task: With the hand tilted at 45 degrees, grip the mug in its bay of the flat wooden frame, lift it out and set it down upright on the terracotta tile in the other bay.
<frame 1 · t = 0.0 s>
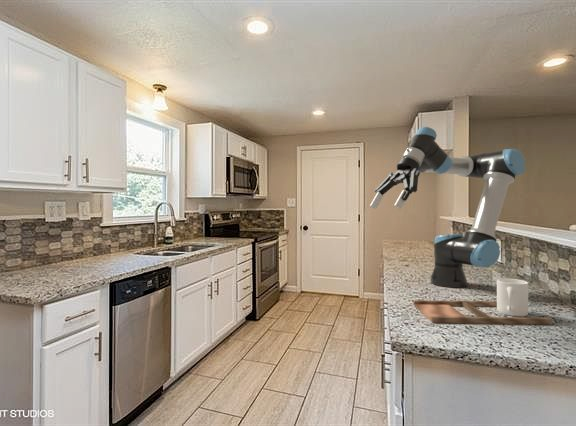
hand: (384, 207, 115), 36 cm above the worktop, tool tilted 35°, fingers open, 13 cm apart
mug: (511, 314, 104), on the worktop
flat wooden frame: (475, 313, 105), on the worktop
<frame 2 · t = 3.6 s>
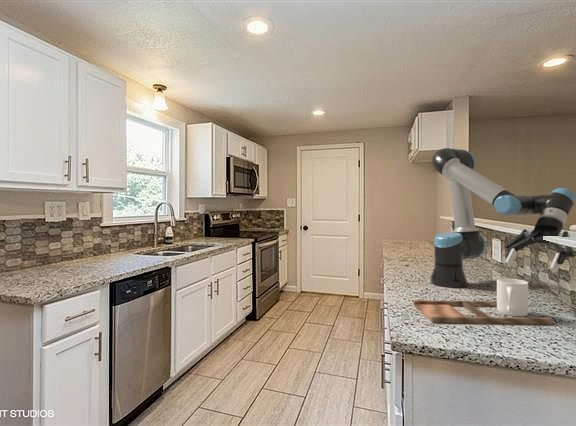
hand: (528, 267, 109), 15 cm above the worktop, tool tilted 45°, fingers open, 13 cm apart
nothing on the worktop moved.
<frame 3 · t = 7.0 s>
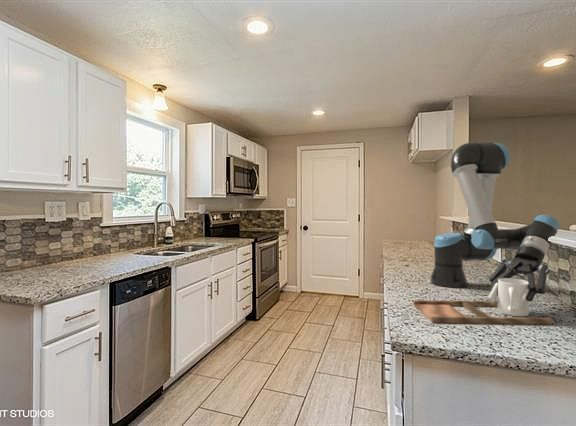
hand: (505, 303, 103), 4 cm above the worktop, tool tilted 45°, fingers closed on mug, 9 cm apart
mug: (512, 314, 104), on the worktop, touching gripper
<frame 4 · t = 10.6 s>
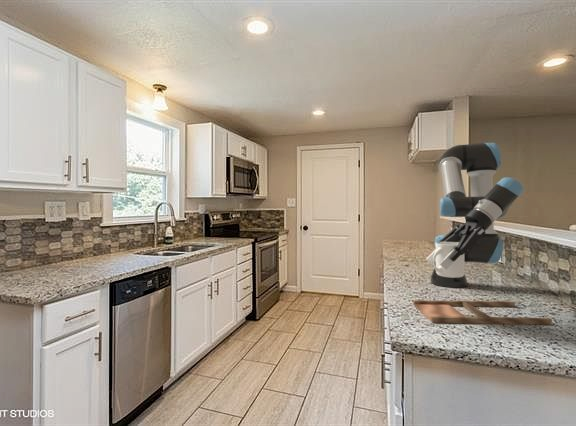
hand: (435, 264, 105), 17 cm above the worktop, tool tilted 45°, fingers closed on mug, 9 cm apart
mug: (446, 276, 105), point 13 cm above the worktop, touching gripper
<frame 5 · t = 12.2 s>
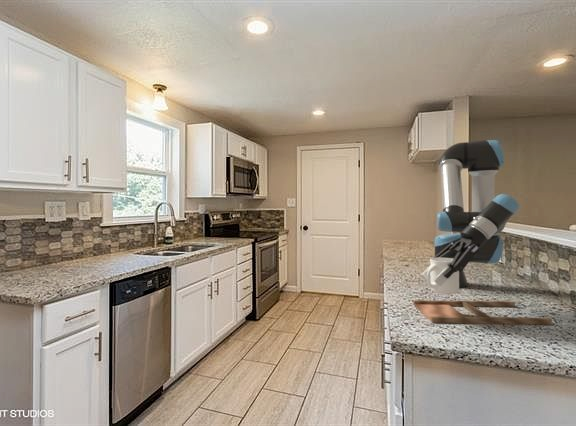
hand: (430, 280, 106), 11 cm above the worktop, tool tilted 45°, fingers closed on mug, 9 cm apart
mug: (441, 292, 105), point 7 cm above the worktop, touching gripper
when the fingers open (6 cm above the worktop, at t = 13.8 s): mug drops 1 cm, resting on flat wooden frame.
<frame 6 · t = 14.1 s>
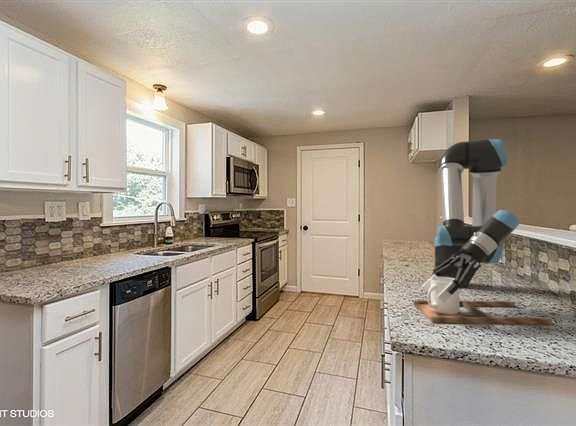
hand: (431, 294, 106), 6 cm above the worktop, tool tilted 45°, fingers open, 11 cm apart
mug: (441, 312, 106), resting on flat wooden frame
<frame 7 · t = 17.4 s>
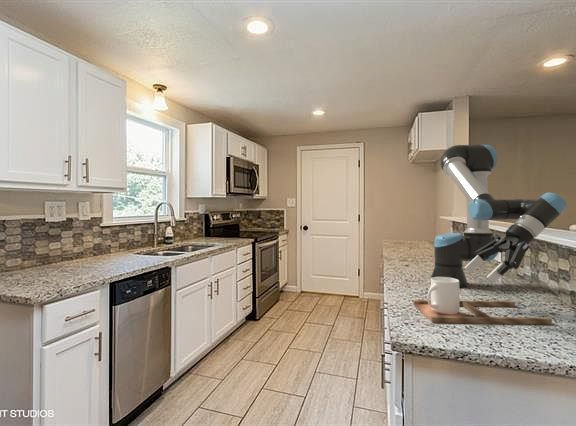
hand: (478, 275, 108), 12 cm above the worktop, tool tilted 45°, fingers open, 13 cm apart
nothing on the worktop moved.
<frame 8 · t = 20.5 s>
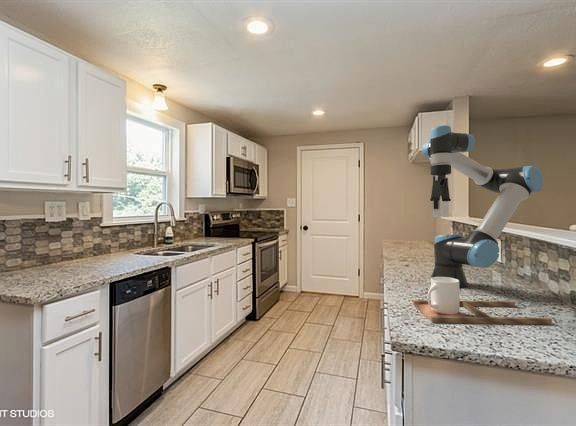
hand: (441, 217, 127), 32 cm above the worktop, tool pointing down, fingers open, 13 cm apart
nothing on the worktop moved.
at the end: mug 0.4 cm from the target spot, resting on flat wooden frame; mug tilted 0°; the gripper is holding nothing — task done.
